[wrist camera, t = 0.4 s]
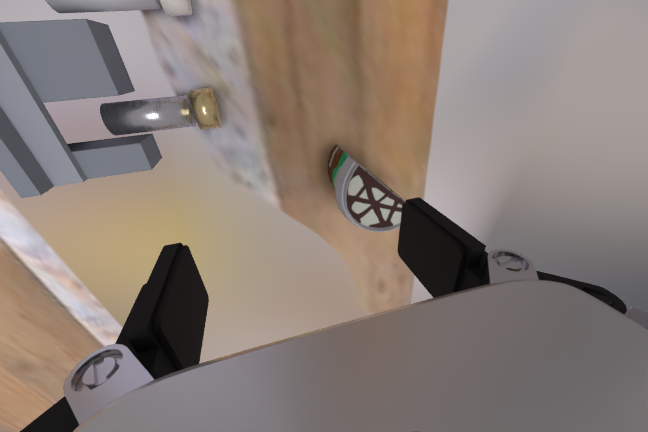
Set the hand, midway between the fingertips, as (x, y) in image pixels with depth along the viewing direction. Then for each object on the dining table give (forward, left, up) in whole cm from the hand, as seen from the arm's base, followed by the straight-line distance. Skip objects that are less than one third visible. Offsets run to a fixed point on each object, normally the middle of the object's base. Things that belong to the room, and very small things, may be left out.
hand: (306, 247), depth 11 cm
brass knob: (-3, -10, -25) cm, 27 cm away
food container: (+9, +10, -26) cm, 29 cm away
